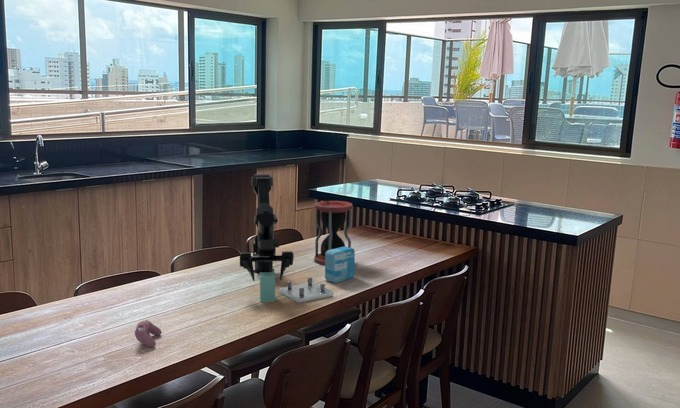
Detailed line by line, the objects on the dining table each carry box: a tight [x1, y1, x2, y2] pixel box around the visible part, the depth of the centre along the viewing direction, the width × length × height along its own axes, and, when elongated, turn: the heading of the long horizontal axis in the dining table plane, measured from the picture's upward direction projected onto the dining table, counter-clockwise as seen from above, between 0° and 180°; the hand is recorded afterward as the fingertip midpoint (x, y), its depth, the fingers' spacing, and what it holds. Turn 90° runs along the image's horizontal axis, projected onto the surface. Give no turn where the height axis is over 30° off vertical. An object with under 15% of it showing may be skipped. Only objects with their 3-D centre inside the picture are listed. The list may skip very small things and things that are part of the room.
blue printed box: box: [324, 245, 356, 284], centre depth 235 cm, size 12×4×12 cm, turn 136°
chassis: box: [278, 277, 334, 304], centre depth 217 cm, size 14×14×4 cm
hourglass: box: [313, 200, 353, 266], centre depth 259 cm, size 16×16×25 cm
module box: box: [259, 271, 276, 303], centre depth 211 cm, size 5×5×9 cm
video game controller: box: [134, 319, 162, 348], centre depth 174 cm, size 10×5×7 cm, turn 5°
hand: (267, 280), depth 209 cm, fingers open, 9 cm apart
